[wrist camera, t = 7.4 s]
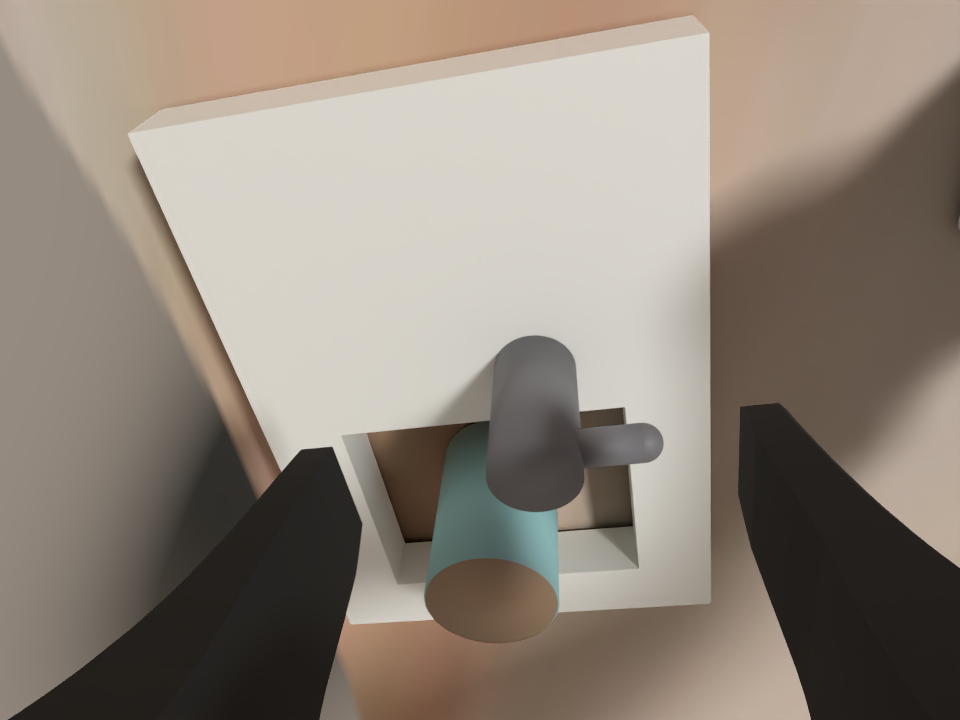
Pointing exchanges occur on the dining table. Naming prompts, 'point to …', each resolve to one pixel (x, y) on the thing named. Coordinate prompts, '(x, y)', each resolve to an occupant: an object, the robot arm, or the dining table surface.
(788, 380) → the dining table surface
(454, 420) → the white box with opening
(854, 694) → the robot arm
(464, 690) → the dining table surface
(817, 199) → the dining table surface
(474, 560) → the cylinder
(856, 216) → the dining table surface
